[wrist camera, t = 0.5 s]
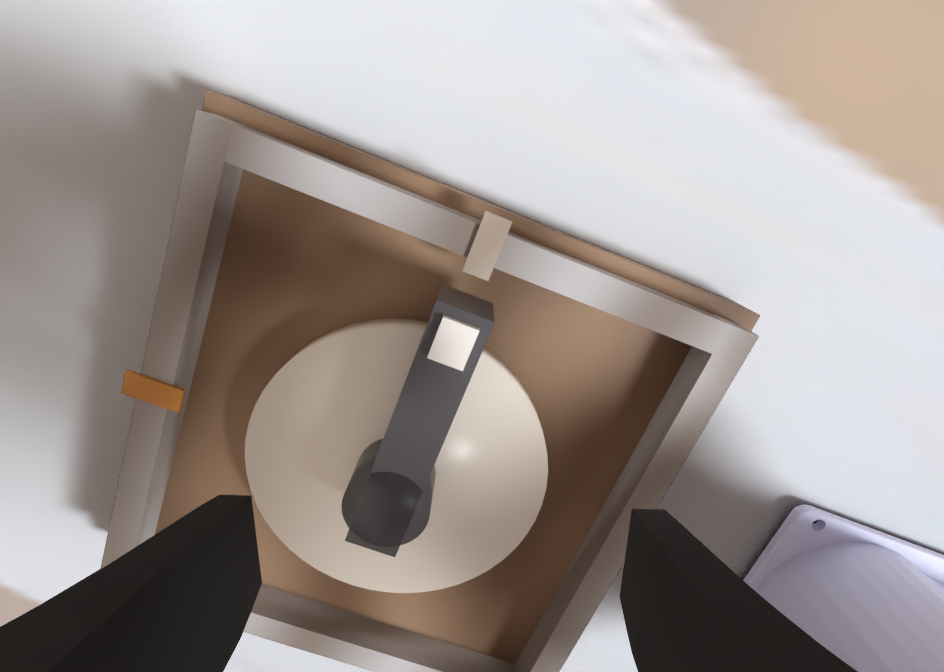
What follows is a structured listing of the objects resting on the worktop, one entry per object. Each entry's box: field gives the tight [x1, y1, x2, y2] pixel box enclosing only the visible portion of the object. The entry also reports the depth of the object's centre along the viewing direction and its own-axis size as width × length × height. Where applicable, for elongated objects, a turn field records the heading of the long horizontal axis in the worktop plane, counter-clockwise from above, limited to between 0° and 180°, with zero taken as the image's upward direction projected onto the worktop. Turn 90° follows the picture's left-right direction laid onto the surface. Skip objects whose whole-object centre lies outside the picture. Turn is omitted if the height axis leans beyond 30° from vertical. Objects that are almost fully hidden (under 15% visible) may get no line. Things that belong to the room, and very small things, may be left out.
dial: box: [245, 284, 548, 593], centre depth 16 cm, size 12×10×3 cm
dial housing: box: [101, 90, 760, 672], centre depth 18 cm, size 18×18×3 cm
